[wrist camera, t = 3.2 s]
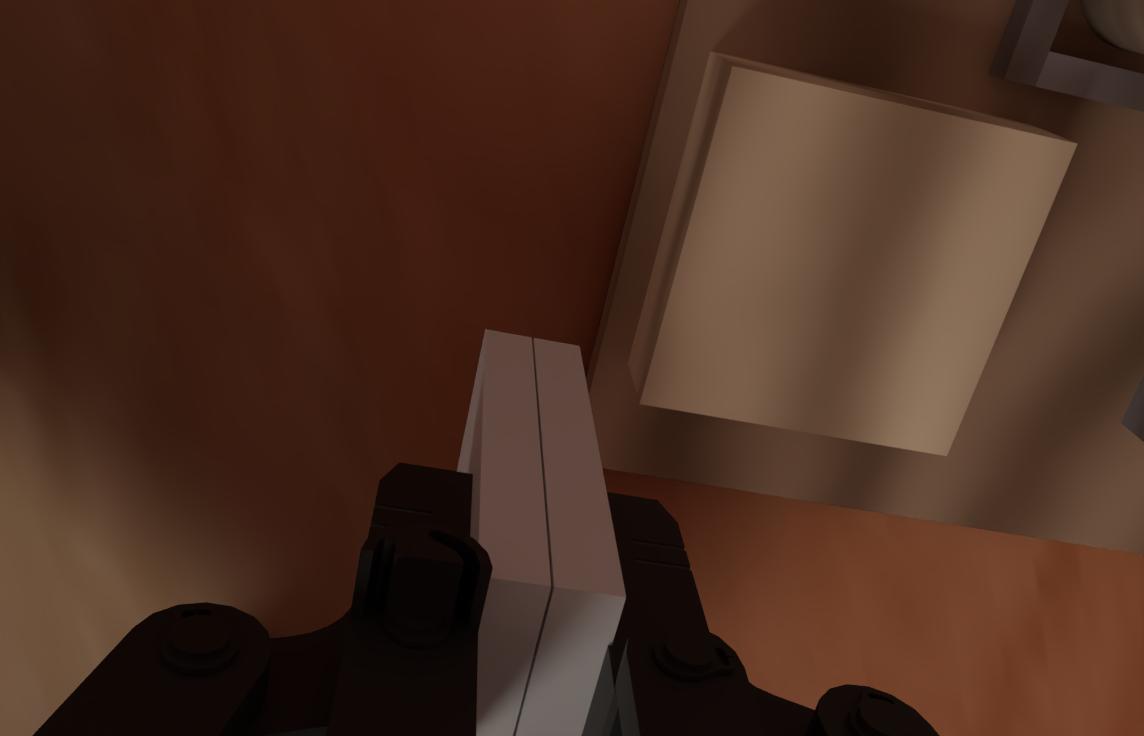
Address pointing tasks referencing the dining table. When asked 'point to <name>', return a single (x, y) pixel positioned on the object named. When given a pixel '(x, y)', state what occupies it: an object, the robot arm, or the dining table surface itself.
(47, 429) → the dining table surface
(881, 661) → the dining table surface
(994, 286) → the thin beige square tile
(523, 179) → the dining table surface
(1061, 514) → the board
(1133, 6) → the dowel
